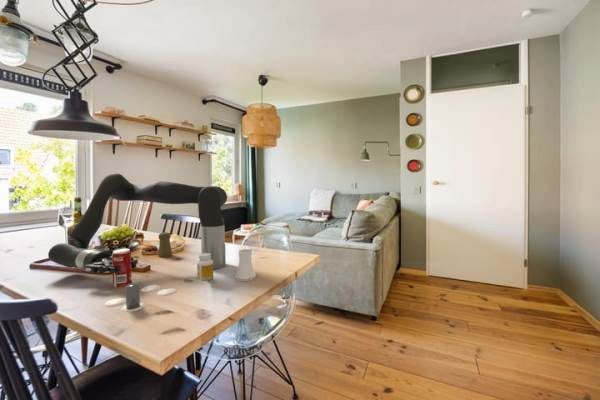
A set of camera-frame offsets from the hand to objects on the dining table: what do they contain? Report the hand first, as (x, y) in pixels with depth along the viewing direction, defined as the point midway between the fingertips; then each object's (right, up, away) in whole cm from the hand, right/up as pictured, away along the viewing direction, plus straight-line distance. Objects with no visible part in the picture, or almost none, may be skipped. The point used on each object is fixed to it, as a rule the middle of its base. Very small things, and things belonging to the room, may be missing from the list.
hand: (127, 267), depth 90 cm
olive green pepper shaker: (-8, -5, +41) cm, 42 cm away
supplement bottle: (+23, -7, +8) cm, 25 cm away
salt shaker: (+36, -7, +13) cm, 39 cm away
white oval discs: (+10, -8, -8) cm, 15 cm away
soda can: (-2, -7, +2) cm, 7 cm away
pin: (+11, -7, -15) cm, 20 cm away
